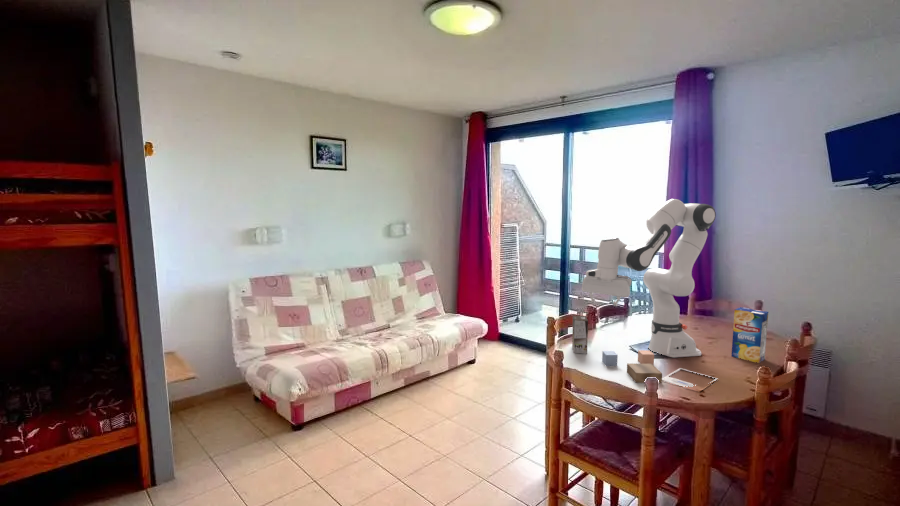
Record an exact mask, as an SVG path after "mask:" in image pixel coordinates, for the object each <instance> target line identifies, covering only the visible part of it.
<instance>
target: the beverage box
mask: <svg viewBox="0 0 900 506" xmlns="http://www.w3.org/2000/svg"><path fill="white" fill-rule="evenodd" d="M733 314H734V315H733V326H732V329H733V330H732V340H731V341H732V342H731V343H732V344H731V357H733V358H736V359H740V358H741V360H744V361H748V360H749V361H748V362H752V363H756V362H757V363H756V364H760V363H762V362H763V361H764V360H766V347H767V346H766V345H767V334H768V333H767V332H768V322H769V311H766V310H760V309H759V310H758V309H753V308H748V307H741V306H740V307H738V308H735V309H734V313H733ZM761 361H762V362H761Z"/></svg>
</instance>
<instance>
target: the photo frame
mask: <svg viewBox="0 0 900 506" xmlns="http://www.w3.org/2000/svg"><path fill="white" fill-rule="evenodd" d="M681 370H682V371H686V372H689V373H692V372H693V373H692V374H696V373H697V374H696V375H699V374H700V376H703V375H705V376H704V377H706V376H708V377H707V378H710V377H712V378H711V379H713V380H712V381H710V382H709V383H711V382H713V381H716V380H717V379H718V380H719V378H717V377H713V376H710V375H708V374H703V373H699V372H696V371H691V370H689V369H686V368H682V367H679V368H677V369H675V370H673V371H672V372H670V373H668V374H667V375H665V376H664V377H662V382H663V381H665V382H664V383H666V382H669V383H668V384H670V383H672V384H671V385H673V384H676V385H679V386H683V387H685V386H686V387H688V386H689V387H693V386H694V385H693V384H694V383H692V382H688V381H685V380H681V379H678V378H676V377H672V376H673V375H674V373H675V374H676V373H678V372H680V371H681ZM672 374H673V375H672ZM669 376H670V377H669ZM714 378H715V379H714ZM718 380H717V381H718ZM717 381H716V382H717ZM676 385H675V386H676ZM696 385H697V384H695V386H696ZM679 386H678V387H679Z"/></svg>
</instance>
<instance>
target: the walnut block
mask: <svg viewBox="0 0 900 506" xmlns="http://www.w3.org/2000/svg"><path fill="white" fill-rule="evenodd" d="M626 363H627V362H626ZM626 374H628V376H629V377H630V378H631V379H632V380H633V381H634V382H635V383H637V384H639V383H641V384H642V383H643V384H645V383H644V381H645V379H646V378H647V377H656V378H657V379H658V380H659V382H660V383H659V384H662V382H663V381H662V378H663V372H661V371H660V370H659V368H657V367H656V366H655V364H654V365H653V364H640V363H627V364H626Z"/></svg>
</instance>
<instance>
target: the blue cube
mask: <svg viewBox="0 0 900 506" xmlns="http://www.w3.org/2000/svg"><path fill="white" fill-rule="evenodd" d="M601 352H602V355H601V356H602V357H601V359H602V360H601V362H602V363H603V364H604V366H605V365H606V366H605V367H611V366H612V367H618V357H619V356H618V353H616V351H614V350H602V351H601Z"/></svg>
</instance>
